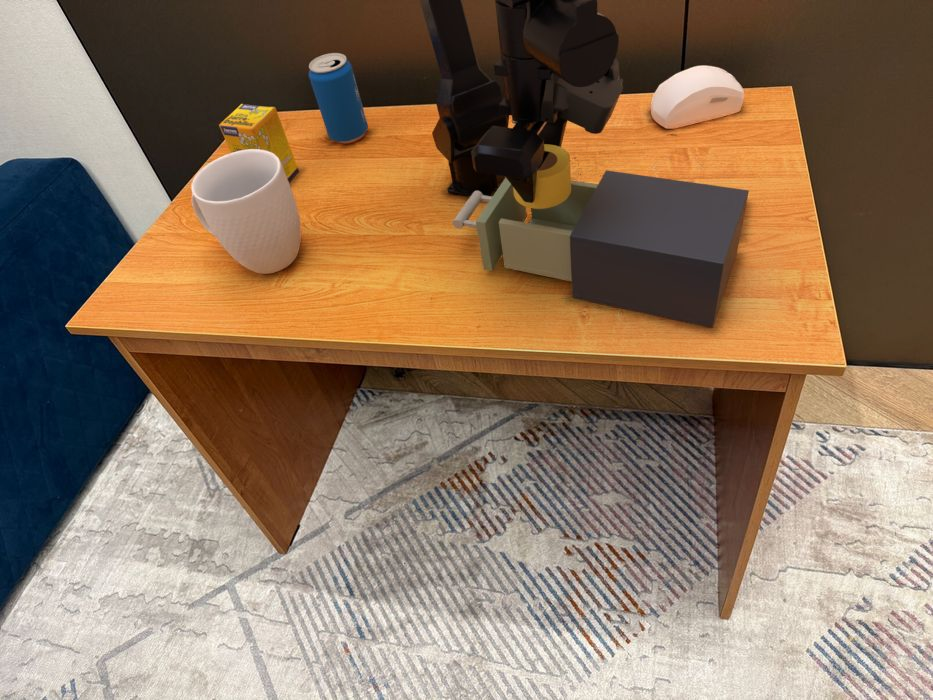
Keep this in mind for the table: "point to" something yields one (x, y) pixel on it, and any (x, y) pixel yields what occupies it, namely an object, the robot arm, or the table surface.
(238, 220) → the mug
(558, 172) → the tape
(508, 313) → the table surface
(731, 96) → the computer mouse
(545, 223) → the drawer
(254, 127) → the supplement box
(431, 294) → the table surface
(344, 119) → the beverage can
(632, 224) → the cabinet
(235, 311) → the table surface
